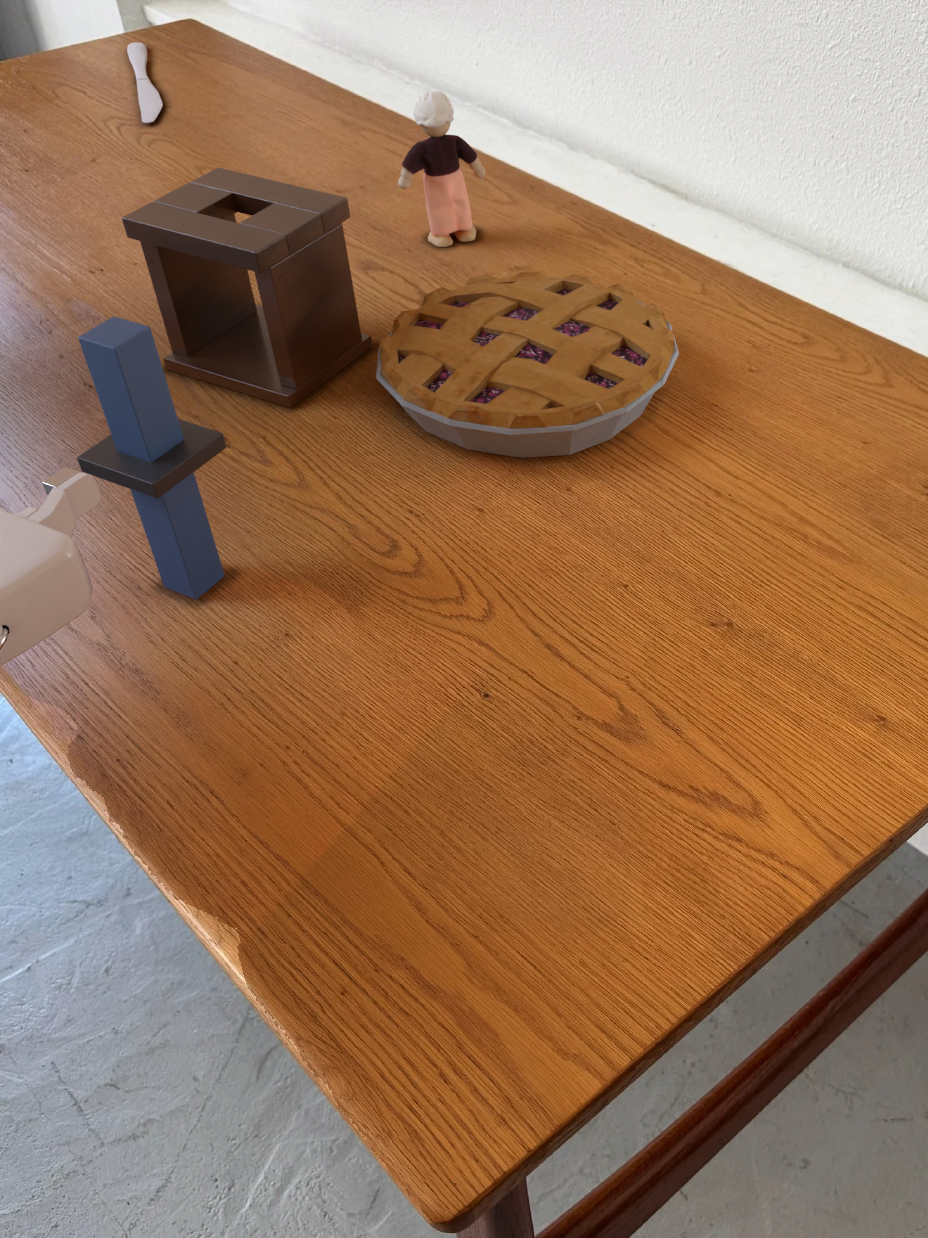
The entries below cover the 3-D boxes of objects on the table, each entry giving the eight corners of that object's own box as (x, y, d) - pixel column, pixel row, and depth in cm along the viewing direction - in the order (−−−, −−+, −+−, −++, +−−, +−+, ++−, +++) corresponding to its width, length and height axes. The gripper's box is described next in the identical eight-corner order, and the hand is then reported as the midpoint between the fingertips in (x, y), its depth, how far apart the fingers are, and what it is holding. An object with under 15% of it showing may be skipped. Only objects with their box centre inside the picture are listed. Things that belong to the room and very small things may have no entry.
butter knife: (152, 39, 150) (125, 40, 149) (165, 120, 131) (135, 122, 130) (153, 44, 150) (127, 46, 149) (166, 126, 132) (136, 128, 131)
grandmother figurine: (473, 220, 114) (459, 76, 105) (495, 235, 112) (482, 89, 103) (399, 242, 111) (378, 95, 102) (420, 258, 108) (400, 109, 100)
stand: (290, 408, 91) (255, 252, 82) (166, 369, 95) (120, 217, 86) (372, 347, 97) (347, 197, 89) (252, 313, 101) (218, 166, 93)
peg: (198, 622, 73) (114, 368, 62) (127, 594, 75) (33, 343, 64) (260, 569, 77) (192, 320, 65) (191, 544, 79) (113, 297, 67)
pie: (595, 502, 82) (593, 439, 79) (323, 426, 89) (310, 364, 85) (721, 351, 97) (724, 292, 93) (479, 295, 103) (473, 238, 100)
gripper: (-102, 643, 47) (158, 458, 56) (-426, 495, 54) (-148, 352, 63) (-39, 754, 51) (192, 566, 60) (-347, 604, 58) (-98, 456, 67)
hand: (16, 456), depth 62 cm, fingers open, 8 cm apart
